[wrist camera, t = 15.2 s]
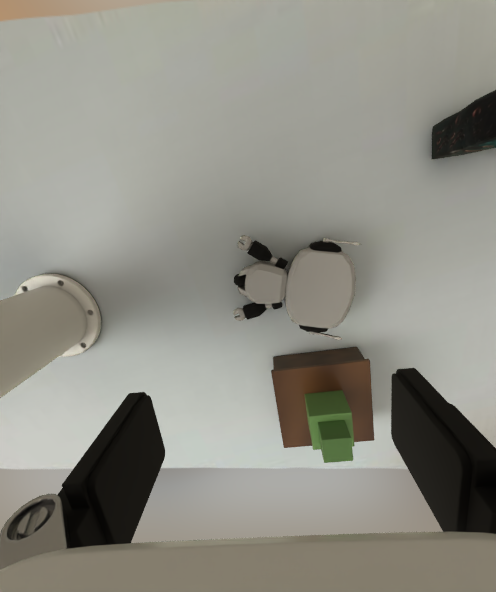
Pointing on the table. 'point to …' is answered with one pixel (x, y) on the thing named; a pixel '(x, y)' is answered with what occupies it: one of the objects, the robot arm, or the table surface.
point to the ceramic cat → (467, 129)
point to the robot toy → (299, 285)
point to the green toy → (330, 425)
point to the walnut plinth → (322, 390)
